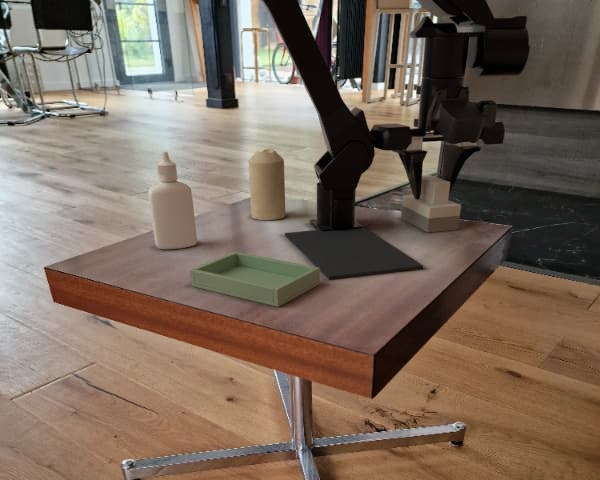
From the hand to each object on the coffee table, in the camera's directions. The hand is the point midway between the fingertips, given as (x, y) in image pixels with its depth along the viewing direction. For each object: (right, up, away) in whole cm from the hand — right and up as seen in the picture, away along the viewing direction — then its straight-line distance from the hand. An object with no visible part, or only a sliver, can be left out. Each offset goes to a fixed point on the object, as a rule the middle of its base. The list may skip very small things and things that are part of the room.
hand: (431, 197), depth 85 cm
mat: (-13, -10, -9) cm, 19 cm away
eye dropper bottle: (-37, -9, -6) cm, 38 cm away
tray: (-25, -17, -20) cm, 36 cm away
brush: (0, -3, +2) cm, 4 cm away
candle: (-25, 0, +8) cm, 26 cm away
